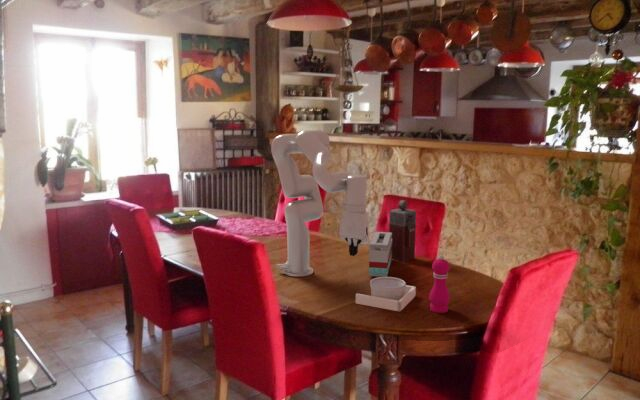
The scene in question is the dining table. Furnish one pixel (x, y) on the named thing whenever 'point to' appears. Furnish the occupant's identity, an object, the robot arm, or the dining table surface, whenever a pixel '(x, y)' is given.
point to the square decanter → (403, 232)
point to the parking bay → (388, 300)
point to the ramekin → (388, 288)
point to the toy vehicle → (380, 254)
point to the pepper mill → (440, 286)
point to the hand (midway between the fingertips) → (353, 254)
